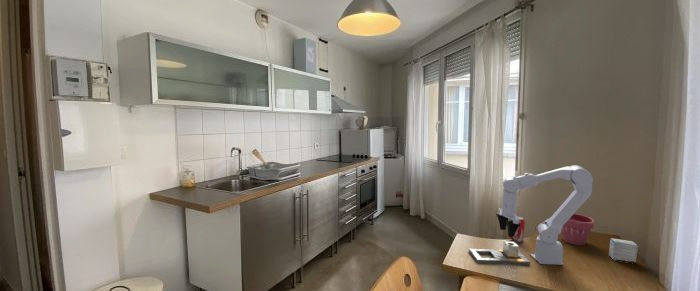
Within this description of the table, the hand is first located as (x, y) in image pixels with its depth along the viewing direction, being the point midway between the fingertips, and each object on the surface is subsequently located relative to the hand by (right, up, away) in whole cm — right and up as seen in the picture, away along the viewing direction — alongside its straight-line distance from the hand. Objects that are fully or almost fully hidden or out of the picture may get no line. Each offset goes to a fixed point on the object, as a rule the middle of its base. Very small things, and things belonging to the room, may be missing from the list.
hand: (506, 232), depth 130 cm
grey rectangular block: (-1, -10, -5) cm, 11 cm away
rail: (-6, -10, -5) cm, 13 cm away
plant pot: (+42, -9, +14) cm, 45 cm away
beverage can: (+13, -8, +14) cm, 21 cm away
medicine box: (+49, -11, -5) cm, 50 cm away
